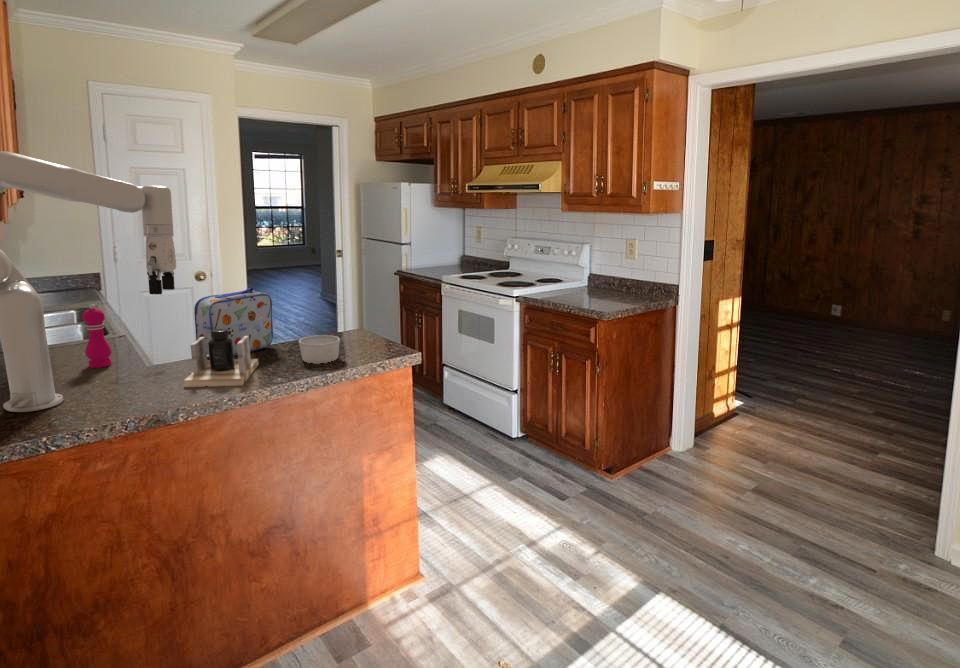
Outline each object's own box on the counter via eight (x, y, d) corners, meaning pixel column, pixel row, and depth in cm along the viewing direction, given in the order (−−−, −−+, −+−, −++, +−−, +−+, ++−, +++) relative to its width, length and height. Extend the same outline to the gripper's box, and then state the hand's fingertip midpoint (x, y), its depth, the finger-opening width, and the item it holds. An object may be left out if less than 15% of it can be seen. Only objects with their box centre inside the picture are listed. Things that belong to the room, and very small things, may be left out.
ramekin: (344, 363, 208) (343, 342, 207) (302, 367, 203) (301, 345, 202) (337, 353, 220) (336, 333, 219) (297, 356, 215) (296, 336, 214)
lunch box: (260, 342, 235) (256, 283, 230) (280, 346, 230) (276, 285, 225) (194, 359, 212) (187, 293, 207) (214, 363, 207) (208, 296, 202)
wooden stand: (242, 385, 184) (239, 348, 182) (184, 387, 182) (180, 350, 180) (258, 364, 206) (256, 331, 203) (206, 366, 204) (203, 332, 201)
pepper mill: (89, 369, 199) (80, 306, 195) (85, 365, 205) (76, 303, 200) (115, 365, 204) (107, 304, 199) (110, 361, 209) (102, 301, 205)
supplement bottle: (239, 367, 195) (236, 329, 192) (220, 373, 189) (217, 333, 187) (225, 364, 198) (221, 326, 196) (205, 369, 193) (202, 330, 190)
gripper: (161, 232, 171) (165, 296, 174) (183, 230, 187) (186, 288, 191) (131, 232, 170) (136, 295, 173) (156, 229, 186) (159, 287, 190)
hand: (162, 291), depth 182 cm, fingers open, 9 cm apart
